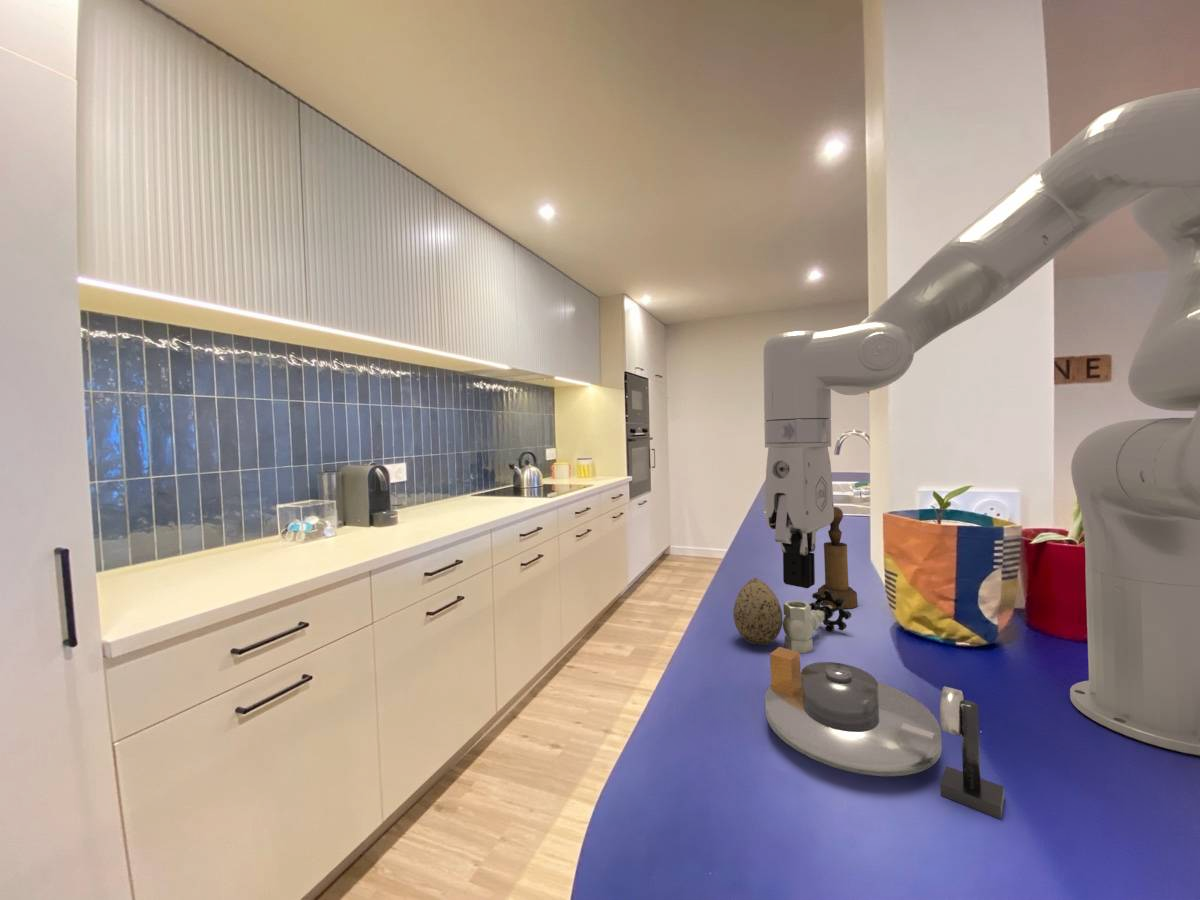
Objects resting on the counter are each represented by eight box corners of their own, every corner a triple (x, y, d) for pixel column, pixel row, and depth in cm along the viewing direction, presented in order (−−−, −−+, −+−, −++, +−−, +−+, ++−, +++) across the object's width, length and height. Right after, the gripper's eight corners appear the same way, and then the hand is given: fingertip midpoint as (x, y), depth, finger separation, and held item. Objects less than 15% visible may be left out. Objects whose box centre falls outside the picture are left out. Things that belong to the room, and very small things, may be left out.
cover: (889, 711, 48) (888, 669, 48) (862, 741, 44) (861, 695, 44) (821, 686, 54) (819, 649, 54) (790, 711, 49) (789, 670, 49)
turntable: (954, 716, 49) (952, 664, 49) (922, 804, 38) (920, 737, 38) (799, 670, 61) (797, 627, 61) (738, 728, 49) (736, 675, 49)
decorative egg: (724, 640, 74) (722, 577, 74) (758, 630, 77) (756, 569, 77) (758, 657, 68) (755, 588, 68) (794, 646, 71) (791, 580, 71)
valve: (812, 660, 67) (852, 636, 74) (811, 613, 67) (850, 594, 74) (770, 645, 72) (811, 624, 79) (769, 602, 72) (810, 585, 79)
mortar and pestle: (858, 600, 89) (855, 505, 89) (856, 611, 84) (852, 510, 84) (820, 595, 93) (816, 504, 93) (815, 606, 87) (811, 508, 87)
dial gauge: (1004, 796, 40) (1001, 694, 40) (1000, 821, 38) (997, 712, 38) (947, 774, 43) (943, 679, 43) (940, 797, 41) (936, 695, 41)
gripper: (804, 435, 50) (806, 608, 50) (849, 434, 61) (851, 577, 61) (738, 436, 55) (741, 593, 55) (791, 435, 66) (793, 567, 66)
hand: (798, 584), depth 58 cm, fingers closed
